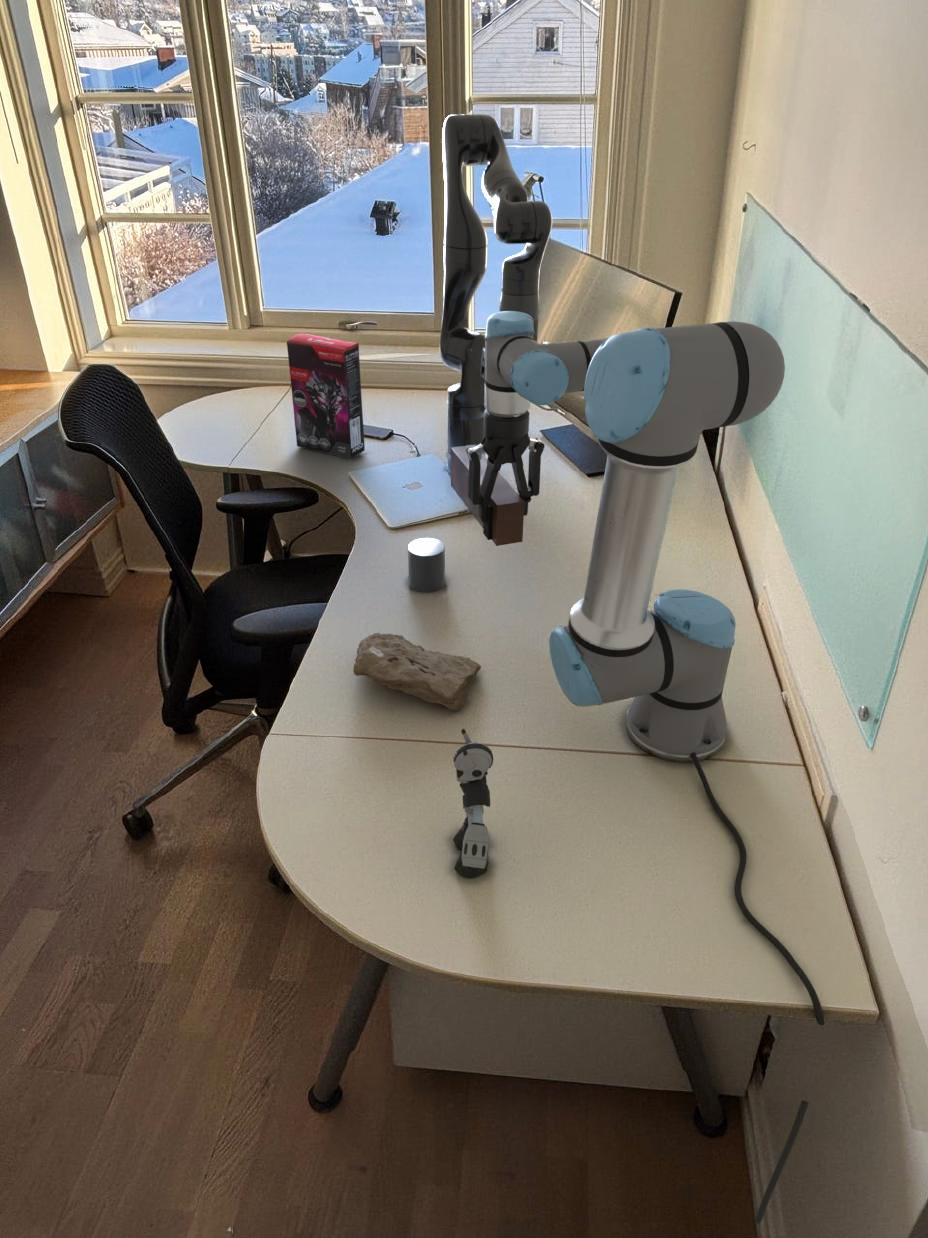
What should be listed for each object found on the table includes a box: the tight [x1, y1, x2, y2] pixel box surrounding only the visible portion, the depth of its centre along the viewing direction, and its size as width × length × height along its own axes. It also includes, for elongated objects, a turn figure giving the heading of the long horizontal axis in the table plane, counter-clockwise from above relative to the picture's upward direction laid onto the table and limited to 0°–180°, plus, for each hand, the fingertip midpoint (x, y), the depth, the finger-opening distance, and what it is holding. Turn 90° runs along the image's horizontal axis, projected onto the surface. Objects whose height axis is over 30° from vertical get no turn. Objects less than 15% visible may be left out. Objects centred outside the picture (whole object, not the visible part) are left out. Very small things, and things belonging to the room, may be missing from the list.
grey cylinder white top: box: [407, 537, 446, 593], centre depth 177 cm, size 7×7×8 cm
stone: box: [352, 632, 482, 712], centre depth 151 cm, size 21×15×6 cm
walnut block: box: [450, 445, 525, 547], centre depth 171 cm, size 26×5×8 cm, turn 19°
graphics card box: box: [286, 332, 366, 459], centre depth 224 cm, size 17×7×27 cm, turn 62°
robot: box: [452, 728, 494, 879], centre depth 116 cm, size 20×5×20 cm, turn 3°
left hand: (515, 397), depth 184 cm, fingers open, 8 cm apart
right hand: (502, 533), depth 165 cm, fingers closed on walnut block, 5 cm apart
